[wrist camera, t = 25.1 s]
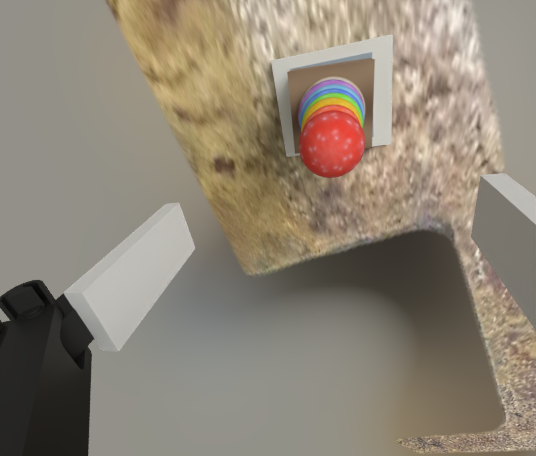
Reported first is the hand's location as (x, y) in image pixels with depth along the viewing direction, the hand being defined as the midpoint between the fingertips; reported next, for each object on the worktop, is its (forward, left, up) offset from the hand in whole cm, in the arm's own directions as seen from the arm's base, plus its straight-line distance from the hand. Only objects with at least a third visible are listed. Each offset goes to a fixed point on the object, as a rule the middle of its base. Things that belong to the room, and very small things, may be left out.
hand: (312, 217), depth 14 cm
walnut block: (0, 0, -35) cm, 35 cm away
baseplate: (0, 0, -37) cm, 37 cm away
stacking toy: (0, 0, -28) cm, 28 cm away
